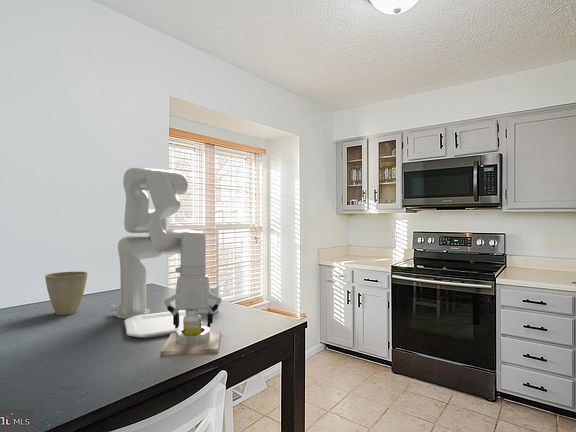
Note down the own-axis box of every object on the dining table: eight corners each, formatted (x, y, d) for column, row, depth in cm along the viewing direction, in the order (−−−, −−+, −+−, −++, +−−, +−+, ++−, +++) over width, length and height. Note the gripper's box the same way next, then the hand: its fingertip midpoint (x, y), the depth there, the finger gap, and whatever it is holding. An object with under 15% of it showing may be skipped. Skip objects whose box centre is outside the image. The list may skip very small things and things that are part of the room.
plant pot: (84, 315, 142) (84, 275, 142) (40, 319, 136) (40, 277, 136) (90, 306, 156) (90, 270, 156) (50, 309, 150) (50, 272, 150)
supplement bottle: (185, 337, 113) (185, 306, 113) (202, 337, 113) (202, 306, 113) (181, 343, 107) (181, 311, 107) (200, 343, 108) (199, 310, 108)
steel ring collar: (173, 347, 104) (173, 336, 104) (179, 335, 114) (179, 326, 114) (208, 345, 106) (208, 335, 106) (211, 334, 116) (211, 325, 116)
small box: (218, 310, 149) (218, 285, 149) (214, 314, 144) (214, 288, 144) (200, 310, 150) (200, 285, 150) (195, 313, 144) (195, 287, 144)
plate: (127, 343, 111) (127, 336, 111) (123, 322, 133) (123, 316, 133) (206, 331, 123) (206, 325, 123) (190, 314, 145) (190, 308, 145)
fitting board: (160, 355, 101) (160, 351, 101) (171, 336, 117) (171, 333, 117) (218, 352, 103) (218, 348, 103) (220, 334, 119) (220, 330, 119)
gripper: (161, 273, 105) (161, 331, 105) (220, 272, 108) (220, 329, 108) (166, 269, 113) (166, 324, 113) (222, 268, 115) (222, 321, 115)
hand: (193, 326), depth 110 cm, fingers open, 9 cm apart
